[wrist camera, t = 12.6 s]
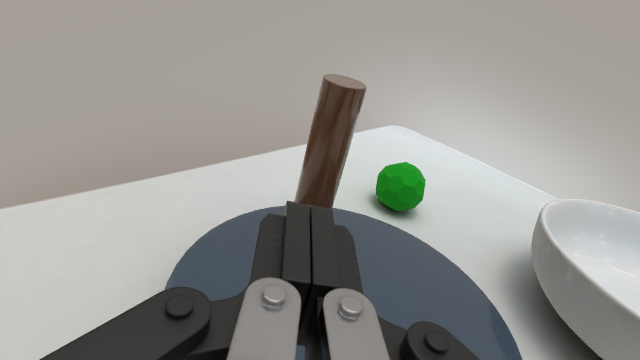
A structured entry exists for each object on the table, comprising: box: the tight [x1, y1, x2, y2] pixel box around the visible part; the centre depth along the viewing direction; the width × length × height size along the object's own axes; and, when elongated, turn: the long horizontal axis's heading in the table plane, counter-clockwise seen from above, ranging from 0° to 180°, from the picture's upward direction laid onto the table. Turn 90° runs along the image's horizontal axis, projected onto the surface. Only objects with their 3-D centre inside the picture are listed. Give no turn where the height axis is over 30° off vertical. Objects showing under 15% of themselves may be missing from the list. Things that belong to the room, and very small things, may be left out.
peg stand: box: [165, 74, 522, 360], centre depth 21 cm, size 22×22×14 cm
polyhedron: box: [376, 162, 425, 211], centre depth 39 cm, size 5×5×5 cm
